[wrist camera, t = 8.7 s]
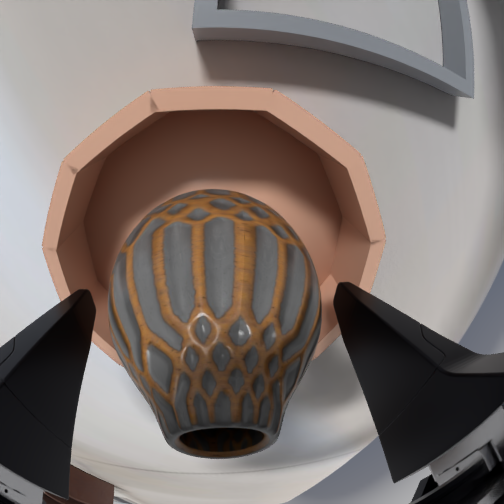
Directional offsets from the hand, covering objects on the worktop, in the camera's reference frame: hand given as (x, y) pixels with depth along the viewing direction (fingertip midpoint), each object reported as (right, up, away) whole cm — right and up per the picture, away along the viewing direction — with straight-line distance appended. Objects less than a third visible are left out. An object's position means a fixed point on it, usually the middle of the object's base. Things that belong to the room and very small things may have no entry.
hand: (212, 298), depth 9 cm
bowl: (-1, +2, +4) cm, 4 cm away
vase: (0, +2, +3) cm, 4 cm away
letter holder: (-40, -49, +27) cm, 69 cm away
